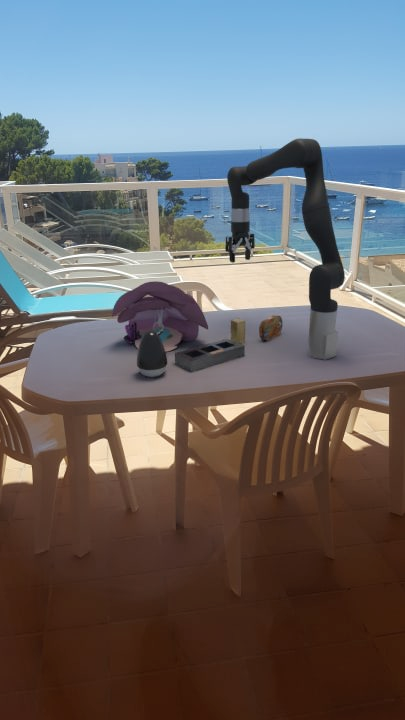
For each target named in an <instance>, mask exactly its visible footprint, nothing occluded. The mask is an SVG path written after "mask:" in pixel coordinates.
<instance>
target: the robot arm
mask: <svg viewBox="0 0 405 720" xmlns="http://www.w3.org/2000/svg"><path fill="white" fill-rule="evenodd" d="M323 164H324V163H323V153H322V147H321V144H320V143H319V142H318V141H317V140H316V139H314V138H295V139H293V140H291V141H289V142H288V143H286V144H284V145H283V146H282V147H281V148H279V149H277V150H275V151H273V152H272V153H270V154H268V155H266V156H263V157H260V158H258V159H256V160H253V161H251V162H249V163H248V164H247V165H246V166H245V165H244V166H232V167H231V168H229V170H228V172H227V175H226V180H227V186H228V189H229V193H230V196H231V197H230V198H231V212H230V232H231V233H232V234H231V236H227V235H226V237H225V249H224V250H225V253H226V252H227V253H228V254H229V257H228V258H229V261H230V263H232V264H234V263H235V262H236V250H237V249H239V247H244V249H245V250H244V259H245V260H246V261H250V260H251V254H252V253H251V251H252V250H253V249H255V246H256V245H255V243H256V241H255V234H254V233H250V231H251V229H250V227H251V226H250V225H251V222H250V221H251V211H250V193H248V192H244V191H243V189H242V187H245V186H249V185H252V184H254V183H255V182H257V181H260V180H263V179H265V178H268V177H270V176H272V175H274V174H275V173H276V172H277V171H279V170H283V169H290V168H293V169H294V168H295V169H303V172H304V176H305V177H304V178H305V184H306V185H305V191H304V196H303V199H302V204H301V215H302V219H303V220H302V221H303V226H304V229H305V231H306V233H307V235H308V236H309V237H310V239H311V241H313V244H314V245H315V246H316V247H317V250H318V252H319V256H320V259H321V264H318V265H315V266H313V268H312V269H311V271H310V273H309V279H308V300H309V303H310V310H309V327H308V343H307V344H308V345H307V355H308V356H309V357H310V358H313V359H318V360H319V359H320V360H324V361H325V360H328V359H331V358H334V357H336V356H337V348H338V347H337V346H338V333H339V332H338V331H337V329H336V328H337V318H338V308H339V307H338V304H339V303H338V301H337V300H335V299H332V298H331V294H332V293H331V291H332V290H336V289H339V288H340V287H341V286H343V285H344V282H345V277H346V276H345V269H344V265H343V261H342V259H341V258H342V257H341V255H340V252H339V249H338V245H337V240H336V235H335V230H334V227H333V226H334V225H333V221H332V219H333V218H332V213H331V208H330V203H329V199H328V193H327V188H326V182H325V175H324V174H325V173H324V165H323Z"/></svg>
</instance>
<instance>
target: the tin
mask: <svg viewBox="0 0 405 720" xmlns="http://www.w3.org/2000/svg"><path fill="white" fill-rule="evenodd" d="M282 330H283V318H282V317H281V316H280V315H275V314H274V315H270V317H267V318H265V319H263V320H261V322H260V325H259V327H258V332H259V334H258V335H259V338H260V339H261V340H262V341H267V342H269V341H271V340H273V339H274V338H276V337H278V336H279V335H280V334H281V333H282Z"/></svg>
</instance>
